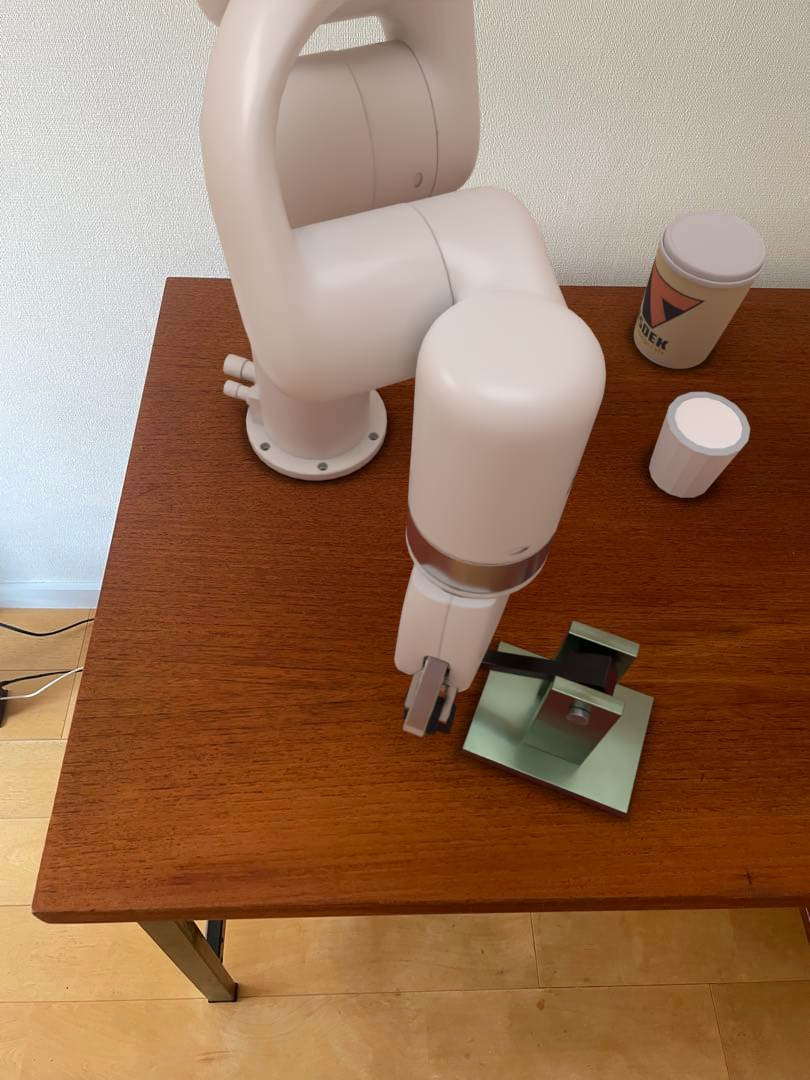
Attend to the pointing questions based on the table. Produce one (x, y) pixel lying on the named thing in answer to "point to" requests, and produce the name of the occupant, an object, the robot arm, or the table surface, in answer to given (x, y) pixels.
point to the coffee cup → (696, 286)
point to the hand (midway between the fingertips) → (452, 659)
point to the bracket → (565, 725)
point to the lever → (555, 668)
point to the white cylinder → (697, 443)
